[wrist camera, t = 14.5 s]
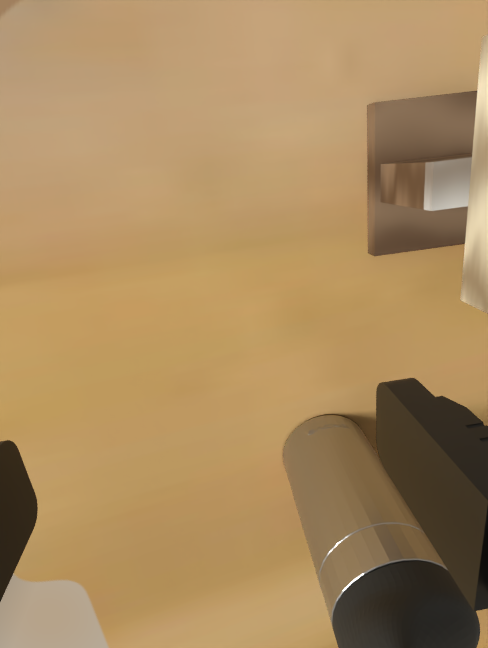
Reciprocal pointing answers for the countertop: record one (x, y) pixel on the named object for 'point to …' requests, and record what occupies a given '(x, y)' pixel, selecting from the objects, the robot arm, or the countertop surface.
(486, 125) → the pale gold metallic bar
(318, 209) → the countertop surface
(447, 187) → the balance stand
